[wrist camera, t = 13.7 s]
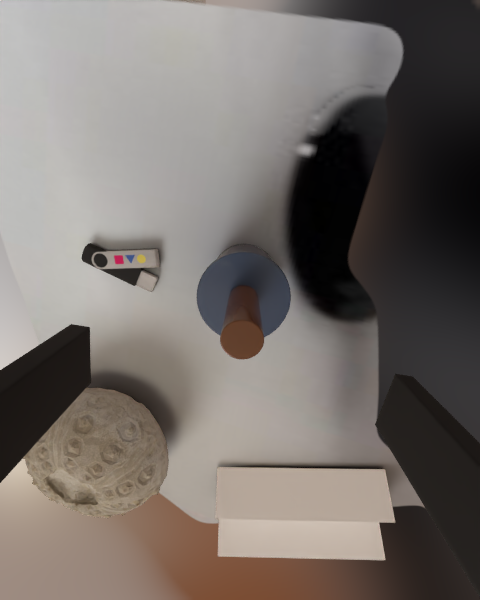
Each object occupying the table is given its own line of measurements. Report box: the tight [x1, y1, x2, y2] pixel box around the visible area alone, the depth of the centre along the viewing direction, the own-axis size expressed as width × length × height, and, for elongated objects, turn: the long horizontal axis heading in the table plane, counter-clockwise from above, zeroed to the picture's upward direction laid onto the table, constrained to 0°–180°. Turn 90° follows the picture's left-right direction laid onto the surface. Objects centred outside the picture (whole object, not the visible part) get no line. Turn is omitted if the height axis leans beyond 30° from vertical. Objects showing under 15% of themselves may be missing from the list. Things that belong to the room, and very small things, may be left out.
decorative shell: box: [23, 387, 169, 518], centre depth 34 cm, size 18×18×10 cm
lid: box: [197, 251, 291, 359], centre depth 20 cm, size 8×8×9 cm
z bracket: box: [215, 467, 395, 560], centre depth 41 cm, size 12×25×6 cm
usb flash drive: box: [82, 243, 160, 292], centre depth 31 cm, size 9×5×1 cm, turn 63°
